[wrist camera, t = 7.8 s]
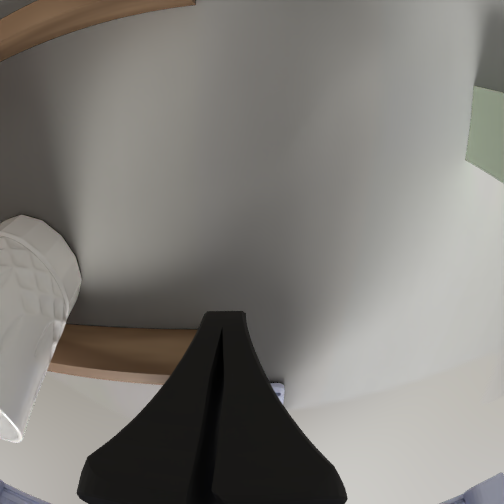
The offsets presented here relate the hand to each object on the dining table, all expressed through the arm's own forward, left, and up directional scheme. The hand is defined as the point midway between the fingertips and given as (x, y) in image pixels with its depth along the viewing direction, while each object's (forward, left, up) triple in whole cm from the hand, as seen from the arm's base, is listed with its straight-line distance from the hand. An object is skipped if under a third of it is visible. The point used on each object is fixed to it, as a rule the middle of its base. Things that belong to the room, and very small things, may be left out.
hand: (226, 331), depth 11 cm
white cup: (0, +12, -6) cm, 13 cm away
